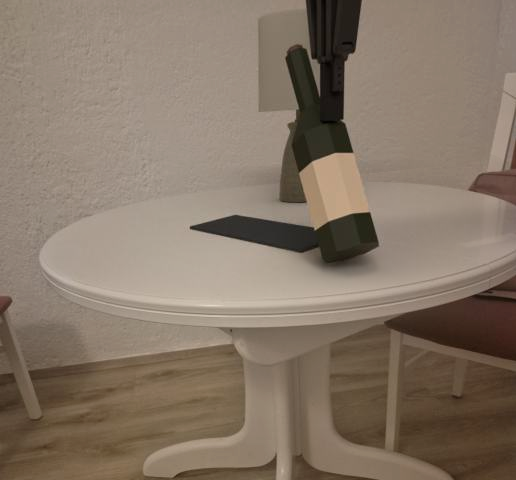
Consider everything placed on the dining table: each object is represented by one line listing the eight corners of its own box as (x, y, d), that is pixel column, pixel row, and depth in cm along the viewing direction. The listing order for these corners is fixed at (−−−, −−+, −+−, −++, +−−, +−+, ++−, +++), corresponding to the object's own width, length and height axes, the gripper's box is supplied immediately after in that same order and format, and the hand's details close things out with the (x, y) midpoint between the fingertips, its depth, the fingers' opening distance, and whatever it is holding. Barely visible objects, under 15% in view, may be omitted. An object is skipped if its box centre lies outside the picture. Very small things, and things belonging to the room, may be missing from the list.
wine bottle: (330, 251, 62) (270, 33, 63) (315, 267, 70) (263, 74, 71) (390, 237, 63) (330, 23, 64) (368, 254, 71) (315, 65, 73)
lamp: (284, 209, 106) (275, 7, 89) (252, 198, 121) (239, 23, 104) (356, 198, 111) (361, 6, 95) (317, 188, 127) (315, 22, 110)
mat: (348, 235, 82) (348, 233, 82) (301, 252, 75) (301, 249, 75) (235, 216, 103) (235, 214, 102) (189, 228, 96) (189, 226, 95)
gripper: (280, -96, 57) (286, 121, 68) (329, -146, 46) (328, 123, 57) (336, -93, 59) (334, 117, 70) (397, -141, 48) (383, 118, 59)
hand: (331, 120), depth 63 cm, fingers closed
